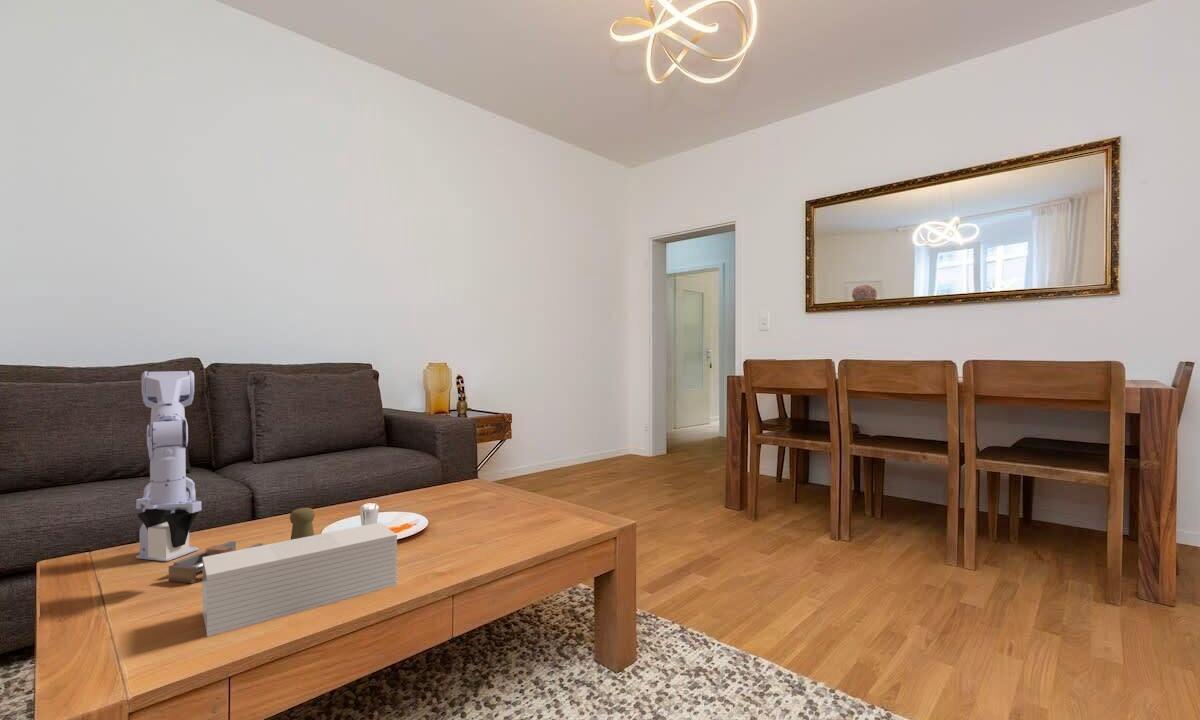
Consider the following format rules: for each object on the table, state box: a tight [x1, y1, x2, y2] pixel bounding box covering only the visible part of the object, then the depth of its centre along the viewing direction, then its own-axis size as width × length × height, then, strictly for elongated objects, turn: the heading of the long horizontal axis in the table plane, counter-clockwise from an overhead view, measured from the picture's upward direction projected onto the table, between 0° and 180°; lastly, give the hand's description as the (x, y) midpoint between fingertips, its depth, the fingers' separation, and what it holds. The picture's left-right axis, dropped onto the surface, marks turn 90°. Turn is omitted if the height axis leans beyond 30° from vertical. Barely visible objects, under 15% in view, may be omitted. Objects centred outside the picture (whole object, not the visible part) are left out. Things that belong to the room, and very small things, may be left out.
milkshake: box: [359, 501, 380, 526], centre depth 139 cm, size 4×5×10 cm
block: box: [148, 522, 188, 559], centre depth 110 cm, size 5×5×6 cm
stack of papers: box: [201, 522, 398, 638], centre depth 106 cm, size 32×11×11 cm, turn 130°
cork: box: [289, 507, 316, 540], centre depth 129 cm, size 6×6×11 cm
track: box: [173, 540, 263, 567], centre depth 122 cm, size 9×14×3 cm, turn 167°
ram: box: [168, 545, 232, 584], centre depth 118 cm, size 6×10×4 cm, turn 167°
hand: (169, 544), depth 111 cm, fingers closed on block, 5 cm apart
